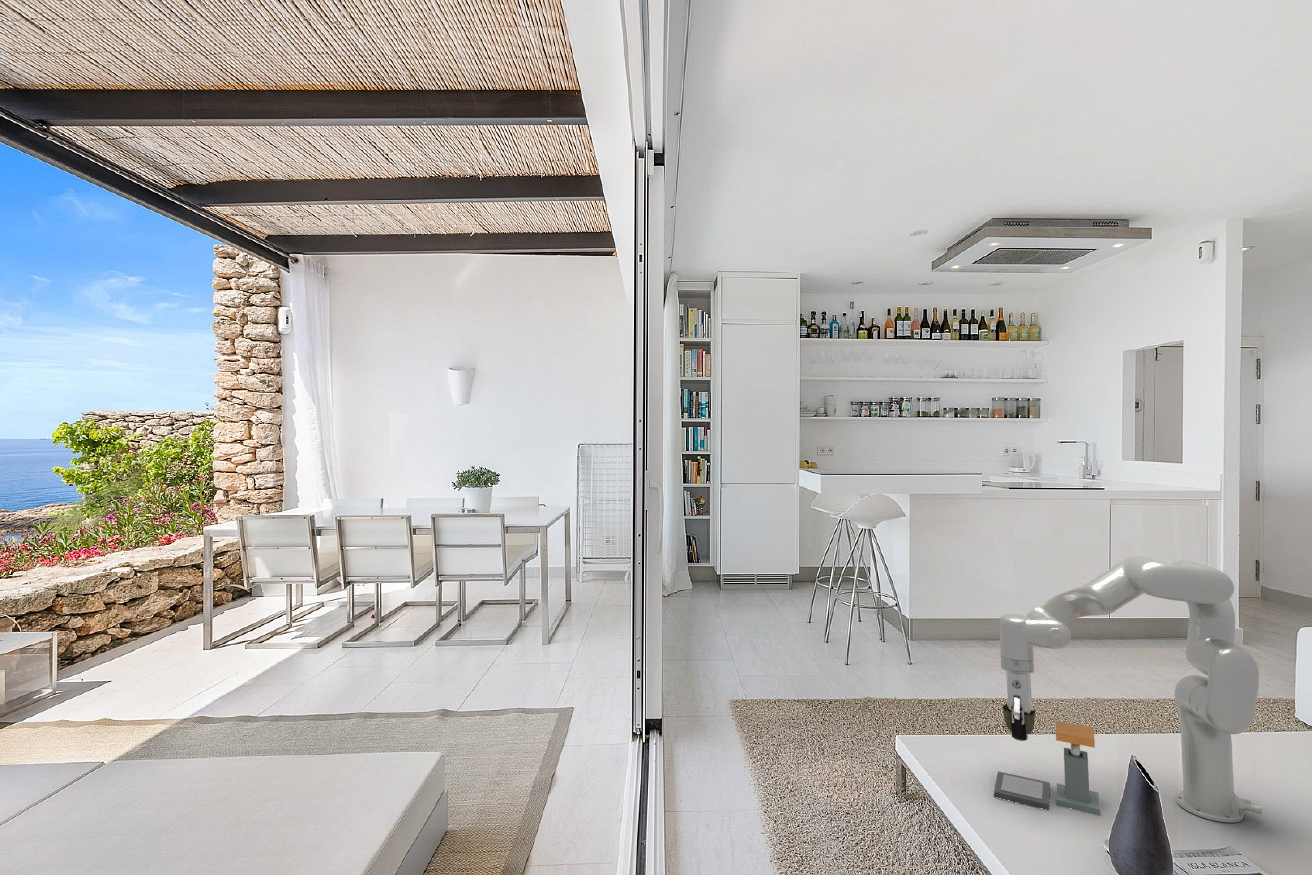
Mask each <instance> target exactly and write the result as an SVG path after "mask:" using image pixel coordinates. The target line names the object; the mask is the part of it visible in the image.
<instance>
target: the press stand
mask: <svg viewBox="0 0 1312 875" xmlns="http://www.w3.org/2000/svg"><path fill="white" fill-rule="evenodd" d="M1080 756H1081V757H1077V756H1072V755H1071V748H1068V747H1063V763H1064V764H1063V765H1064V784H1061V783H1058V782H1057V783H1056V787H1055V788H1056V790H1055V791H1056V792H1055V795H1056V796H1055V804H1056V805H1057V806H1056V807H1061V808H1065V809H1069V808H1072V809H1071V810H1073V809H1075V810H1074V811H1078V810H1079V811H1078V812H1082V813H1086V812H1088V813H1087V814H1092V815H1095V816H1100V817H1101V806H1100V805H1101V804H1100V796H1099V795H1100V794H1099V791H1095V790H1090V780H1089V778H1090V777H1089V775H1090V774H1089V758H1088V757H1089V756H1088V751H1086V750H1084V751H1083V750H1080Z"/></svg>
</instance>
